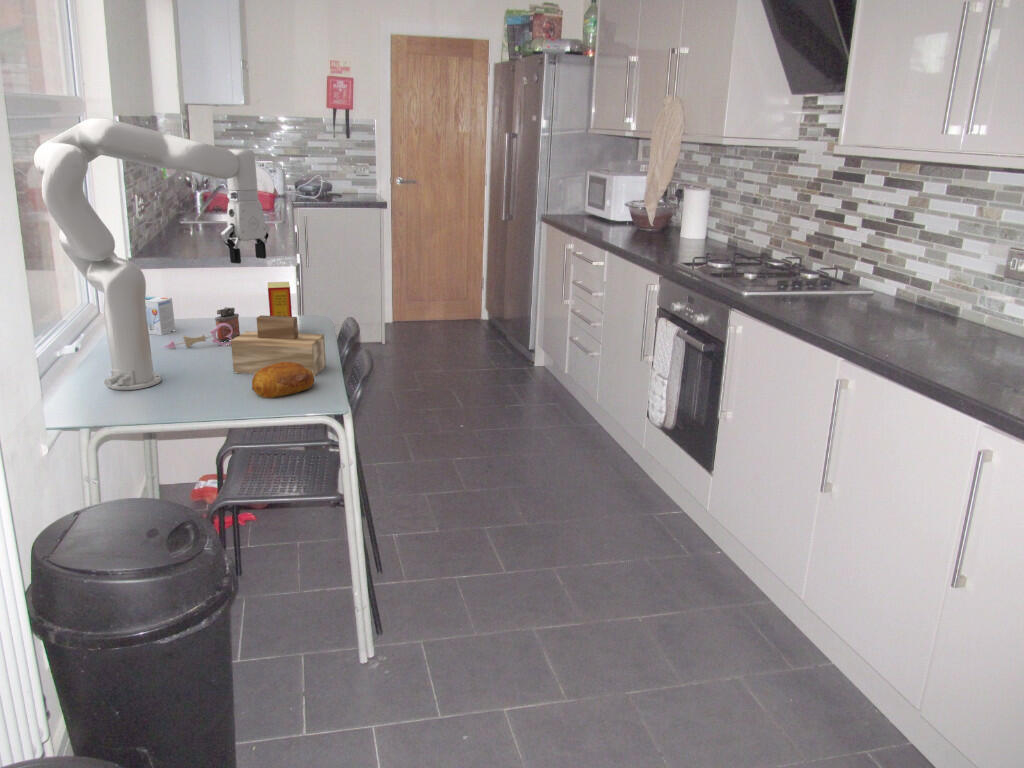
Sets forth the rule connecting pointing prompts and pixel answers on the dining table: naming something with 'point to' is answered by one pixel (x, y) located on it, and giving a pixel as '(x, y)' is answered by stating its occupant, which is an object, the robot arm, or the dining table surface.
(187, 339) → the decorative key
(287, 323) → the wooden block with riser
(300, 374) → the croissant
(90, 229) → the robot arm
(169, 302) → the light bulb box
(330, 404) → the dining table surface
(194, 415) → the dining table surface
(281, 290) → the baking soda box
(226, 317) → the lighter
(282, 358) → the open wooden crate
